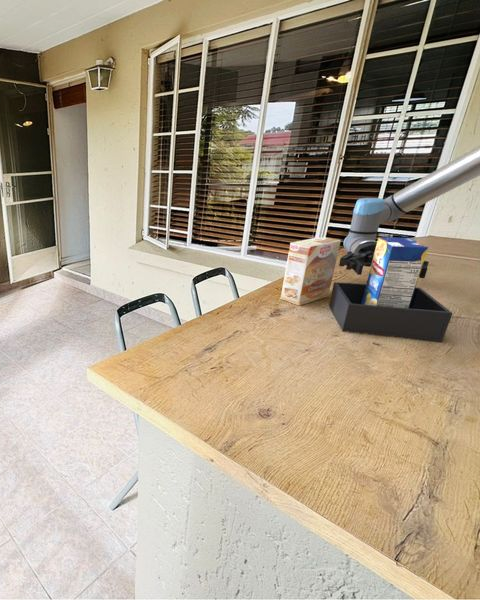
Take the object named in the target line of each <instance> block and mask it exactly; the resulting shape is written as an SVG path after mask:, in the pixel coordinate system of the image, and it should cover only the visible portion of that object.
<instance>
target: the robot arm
mask: <svg viewBox="0 0 480 600" xmlns="http://www.w3.org/2000/svg"><path fill="white" fill-rule="evenodd" d="M478 177H480V145H479V146H477V147H474V148H473V149H472V150H470V151H468V152H466V153H464V154H463V155H461V156H459V157H457V158H456V159H454V160H452V161H450V162H448V163H446V164H445V165H442V166H441V167H440V168H437V169H436V170H434V171H432V172H430V173H429V174H426V175H425V176H423V177H422V178H420V179H418V180H417V181H415V182H412V183H411V184H409V185H407V186H406V187H404V188H402V189H400V190H399V191H397V192H395V193H393V194H391V195H390V196H388V197H386V198H384V199H383V198H381V197H363V198H359V199H357V200H356V203H355V204H354V205H355V206H354V208H353V213H352V218H351V223H350V228H349V231H348V235H347V236H346V237H345V238H344V240H343V248H344V249H345V251H346V254H344V255H343V256H341V257H340V260H339V263H338V267H341V268H342V267H345V266H346V267H345V270H347V271H351V270H353V272H355V273H356V274H357V276H362V274H363V269H364V267H370V268H371V264H372V260H373V256H374V253H375V249H376V245H377V241H376V239H377V236H378V231H379V228H380V225H381V224H385V223H390V222H393V221H395V220H397V219H399V218H400V217H401V216H403V215H405V214H407V213H408V212H410V211H413V210H414V209H416V208H418V207H420V206H423V205H425V204H427V203H428V202H430V201H432V200H435V199H436V198H438V197H440V196H442V195H444V194H446V193H448V192H450V191H453V190H454V189H456V188H458V187H460V186H462V185H464V184H466V183H468V182H470V181H472V180H474V179H476V178H478ZM429 263H430V261H428V260H424V262H423V265H422V268H421V271H420V275H419V278H420V279H425V278H426V275H427V272H428V267H429Z"/></svg>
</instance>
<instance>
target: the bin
mask: <svg viewBox="0 0 480 600" xmlns="http://www.w3.org/2000/svg"><path fill="white" fill-rule="evenodd" d="M365 287H366V283H354V282H353V283H352V282H339V281H338V282H337V281H333V284H332V289H331V294H330V297H329V303H328V307H329V309H330V311H331V313H332V314H333V317H334V316H335V317H334V318H335V320H336V322H337V324H338V326H339V325H340V326H339V328H340V327H341V328H340V330H341V329H342V330H341V332H345V331H349V332H348V333H354V332H359V333H358V334H363V333H368V334H367V335H372V334H374V335H373V336H381V335H383V336H384V337H390V336H394V337H393V338H399V337H403V338H402V339H408V338H410V339H409V340H417V339H418V341H426V340H427V341H428V342H435V341H436V342H435V343H437V342H438V343H443V340H444V337H445V336H446V332H447V330H448V327H449V324H450V322H451V319H452V316H453V312H452V311H451V310H450V309H448V308H447V307H445V306H444V305H443V304H441V303H440V302H439V301H438V300H437V299H435V298H434V297H433V296H431V295H430V294H429V293H428V292H427V291H425V290H424V289H423V288H421V287H417V286H416V287H415V290H414V294H413V297H412V300H411V303H410V306H409V308H398V307H386V306H374V305H362V304H361V303H362V299H363V295H364V291H365ZM383 336H382V337H383Z"/></svg>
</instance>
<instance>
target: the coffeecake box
mask: <svg viewBox="0 0 480 600" xmlns="http://www.w3.org/2000/svg"><path fill="white" fill-rule="evenodd" d="M341 242H342V240H341V239H338V238H332V237H326V236H316V237H313V238H307V239H302V240H297V241H293V242H292V241H291V242H290V243H289V248H288V254H287V260H286V266H285V271H284V272H285V273H284V278H283V282H282V289H281V294H280V300H282V301H285V302H287V303H290V304H293V305H297V306H303V305H305V304H309V303H312V302H315V301H318V300H322V299H324V298H327V297H329V294H330V290H331V285H332V281H333V276H334V272H335V268H336V263H337V259H338V254H339V250H340V247H341V246H340V245H341Z"/></svg>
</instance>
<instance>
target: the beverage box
mask: <svg viewBox="0 0 480 600" xmlns="http://www.w3.org/2000/svg"><path fill="white" fill-rule="evenodd" d="M376 242H377V245H376V249H375V253H374V256H373V260H372V264H371V267H370V268H369V272H368V275H367V279H366V280H367V281H366V283H365V284H366V287H365V291H364V295H363V299H362V303H361V304H362V305H374V306H386V307H398V308H409V306H410V303H411V300H412V297H413V294H414V290H415V287H416V288H417V283H418V281H419V278H420V277H419V275H420V271H421V268H422V265H423V262H424V261H425V259H426V256H427V252H428V250H429V247H428V246H426V245H424V244H422V243H421V242H419V241H417V240H415V239H414V238H411V237H385V236H384V237H382V236H381V237H380V236H378V237H377V241H376Z"/></svg>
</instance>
